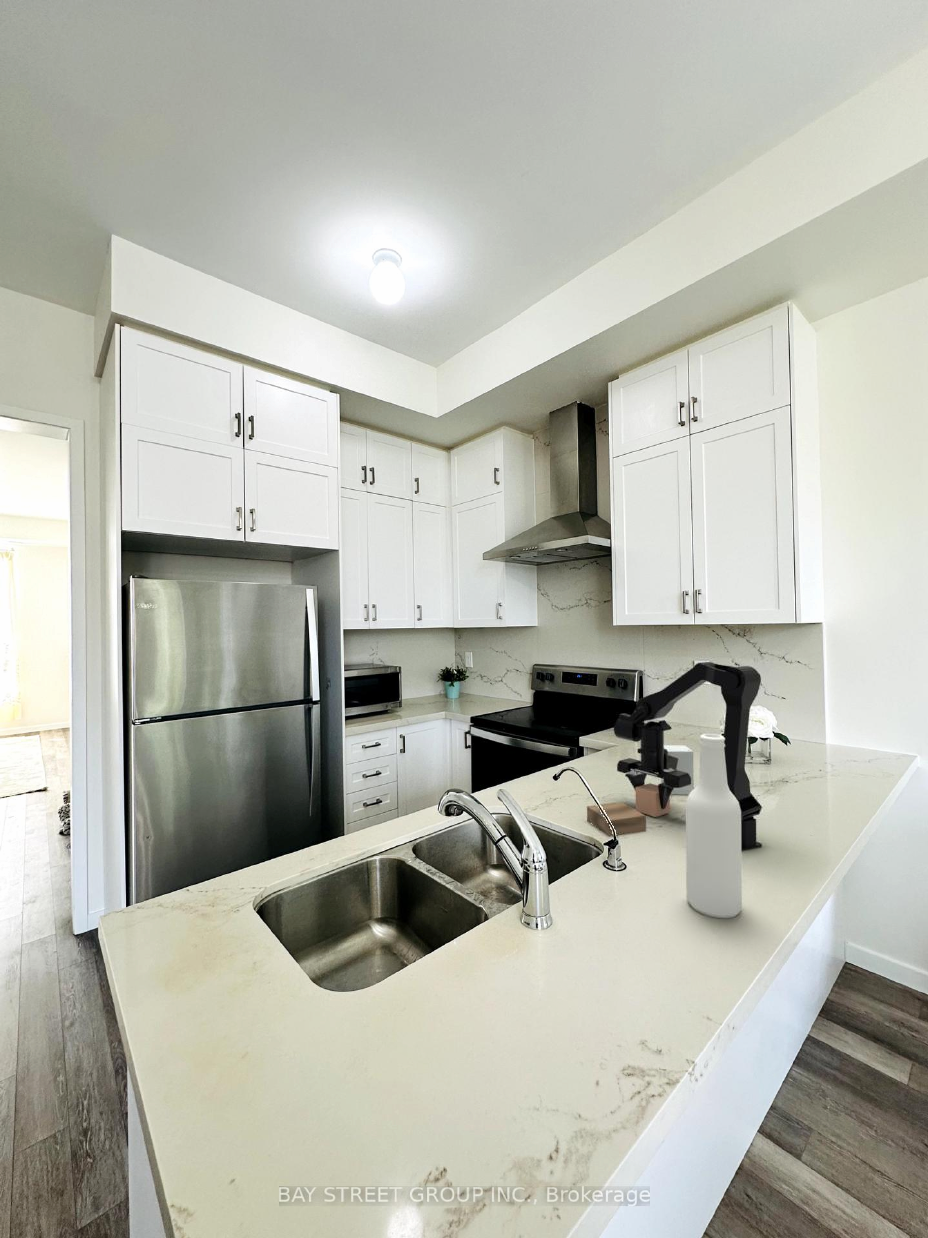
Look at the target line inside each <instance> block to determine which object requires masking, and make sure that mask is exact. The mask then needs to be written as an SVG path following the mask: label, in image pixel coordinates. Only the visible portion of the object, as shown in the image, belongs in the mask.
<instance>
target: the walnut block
mask: <svg viewBox="0 0 928 1238" xmlns="http://www.w3.org/2000/svg"><path fill="white" fill-rule="evenodd" d="M596 805H597V804H595V805H588V806H586V821H587V822H588V821H589V824H591V823H592V824H593V825H592V824H591V825H592V826H594V827H595V826H596V827H595V828H597V829H598V828H599V829H598V830H599V831H600V832H602V833H604V835H606V836H607V837H614V836H613V834H612V830H611V829H610V826H609V823H607V821H606V819H605V817H603V814H601V812H600V809H599V808H598V806H596ZM600 805H601V806H602V807H603V810H605V812H606V814H607V816H608V817H609V819H610V821H611V823H612V825H613V826H614V829H615V830H616V834H617V835H616V836H621V835H622V836H623V835H628V834H635V833H641V832H642V833H643V832H646V831H647V816H646V814H645V813H642V812H639V811H637V810H636V808H633V807H631V806H630V805H628V804H626V803H624V802H623V801H619V802H617V801H616V802H612V803H603V804H600Z"/></svg>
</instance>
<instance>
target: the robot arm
mask: <svg viewBox="0 0 928 1238" xmlns="http://www.w3.org/2000/svg"><path fill="white" fill-rule="evenodd" d="M706 682H708V683H709V684H712V685H715V686H718V687H720V693H721V696H722V699H723V700H724V704H725V717H724V728H723V737H724V738H725V740H724V744H725V747H724V752H725V763H726V774H727V784H728V787H729V790H730V791H731V793H732V794H733V795H734V796H735V798H736V799H737V801H738V802H739V806H740V810H741V851H745V850H750V849H755V848H761V847H762V846H763V844H762V843H761V842H758V841H757V818H755V816H759V815H760V814H761V811H762V809H763V806H762V805H761V804H760V802H759V800H757V799H756V798H755V796H754V795H753V794H752V793H751V782H750V779H749V777H748V774H747V771H746V756H747V746H748V745H747V744H748V733H749V722H750V712H751V706H752V705H753V704H754V703H753V702H754V701H755V700H756V697H757V696H758V693H759V690H760V686H761V683H762V677H761V674H760V673H759V671H757V669H755V668H754V667H752V666H750V665H742V666H732V665H731V666H730V665H725V664H718V663H714V662H712V661H705V662H702V661H701V662H697V663H695V664H694V666H693V667H692V668H691V669H689V670H687V671H686V672H685V673H684V674H683V675H681V676H679V677H678V678H677V679H675V680H674V681H672V682H671V683H669V684H668V685H666V686H665V687H664V688H663V689H661V690H658V691H657V692H654V693H651V694H648V695H645V696H643V697H642V698H639V699H638V700H637V702H636V707H635V709H634V710H633V712H632V713H631V714H628V713H620V714H618V718H617V720H616V721H615V724H614V726H613V732H614V736H615V737H616V738H618V739H621V740H627V741H631V742H634V743H637V742H640V748H637V754H640V760H638V759H636V758H630V757H629V758H628V757H627V758H624V759H620V760H619V761H618V763H617V764H616V771H617V772H620V773H622V774H625V775H624V776H625V777H626V778H628V780H629V782H630V784H631V785H632V787H633V789H634V791H635V792H636V787H638V786H642V785H645V783H646V782H645V781H646V778H647V775H648V776H652V777H655V778H660V779H661V778H662V779H663V783H661V782H660V783H658V784H657V785H658V790H659V798H660V805H661V809H665V808H666V805H667V802H668V800H669V797H670V798H671V795H672V794H671V793H672V791H673V789H674V788H681V787H684V786H687V785H690V784H691V776H690V775H689V773H686V772H682V771H678V770H676V769H677V764H678V758H675V757H673V756H669V755H668V751H667V749H664V745H665V733H664V732H666V731H670V730H672V729H673V728H672V726H671V725H670V724H669V723H667V721H666V720H665V719H662V718H665V717H666V716H667V715H668V714H669V713H670V712H671V711H672V709H674V706H675V704H677V703H678V701H680V700H682V699H683V698H685V697H686V696H687V695H689V694H690V693H692V692H693V691H695V690H696V689H698V688H699V687H700V686H702V685H703V684H705V683H706ZM657 719H662V720H658V721H653V720H657ZM646 721H647V722H646ZM670 768H672V769H673V770H674V771H671V772H665V771H664V770H668V769H670Z"/></svg>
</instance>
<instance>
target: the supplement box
mask: <svg viewBox="0 0 928 1238" xmlns="http://www.w3.org/2000/svg"><path fill="white" fill-rule="evenodd" d="M664 749H667V751H668V755H669V756H673V757H675V758H678V764H677V769H676V770H678V771H682V772H686V773H689V775H690V776H691V784H690V785H687V786H684V787H681V788H674V789H673V791H672V793H671V795H680V796H681V795H682V796H683V795H687V796H688V795H689V794H690V793H691V791H692V790H693V789H694V788H695V785H694V784H695V783H694V782H695V780H694V779H695V778H694V751H693V750H692V749H691V748H689V747H687V745H685V744H684V745H681V744H680V745H675V744H672V745H671V744H670V745H669V744H668V745H667V744H664ZM664 771H665V772H671V771H674V770H673V769H672V768H670V769H668V770H664ZM661 783H663V779H662V778H660V784H661Z"/></svg>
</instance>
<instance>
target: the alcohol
mask: <svg viewBox="0 0 928 1238" xmlns="http://www.w3.org/2000/svg"><path fill="white" fill-rule="evenodd" d="M699 738H700V742H699V746H700V752H699V753H700V755H699V768H698V781H697V784H696V786H694V789H693V790H692V791H691V793H690V794H689V795H687V799H686V801H685V802H686V803H685V855H686V857H685V858H686V859H685V861H686V862H685V864H686V865H685V867H686V871H685V872H686V874H685V875H686V877H685V878H686V881H685V883H686V898H687V901H688V903H689V904H690V905H691V907H692V908H693V909H694V910H695V911H697V912H699V913H700V914H702V915H704V916H708V917H711V918H715V919H731V918H735V917H736V916H737V915H739V913H740V912H741V910H742V908H743V905H742V904H743V903H742V902H743V899H742V898H743V897H742V891H743V890H742V888H743V887H742V883H743V881H742V880H743V879H742V875H743V874H742V873H743V872H742V850H741V810H740V806H739V802H738V801H737V799H736V798H735V796H734V795H733V794H732V793H731V791H730V790H729V787H728V784H727V774H726V763H725V752H724V747H725V744H724V740H725V738H724V735H721V734H718V733H717V734H716V733H703V734H701V735H700V736H699Z"/></svg>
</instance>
